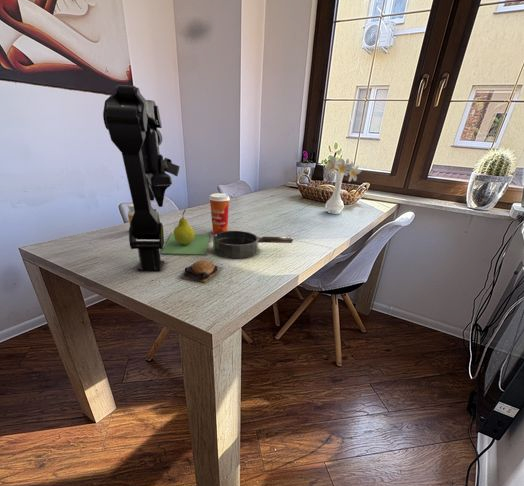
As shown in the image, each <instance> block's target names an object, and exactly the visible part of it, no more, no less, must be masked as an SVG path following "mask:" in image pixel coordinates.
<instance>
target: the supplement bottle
mask: <svg viewBox="0 0 524 486" xmlns="http://www.w3.org/2000/svg"><path fill="white" fill-rule="evenodd" d="M127 208H128V211H127V217H128V223H129V224H130V223H131V220H132V217H133V214H134V212H135V211H134V206H133V203H129V204H128V205H127Z"/></svg>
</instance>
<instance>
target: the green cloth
mask: <svg viewBox="0 0 524 486" xmlns="http://www.w3.org/2000/svg"><path fill="white" fill-rule="evenodd" d="M194 234H195V233H194ZM209 239H210V234H203V233H202V234H200V233H199V234H197V233H196V234H195V235H194V239H193V241H192V242H191V243H190V244H188V245H183V244H180V243H179V242H177V241H176V240H175V237H174V233H170V236H169V237H168V240H167V242H166V243H165V244H164V246H163V249H162V251H161V254H160V255H174V256H175V255H179V256H180V255H181V256H182V255H183V256H206V254H207V250H208V245H209Z"/></svg>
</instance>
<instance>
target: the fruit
mask: <svg viewBox="0 0 524 486" xmlns="http://www.w3.org/2000/svg"><path fill="white" fill-rule="evenodd" d="M186 211H187V210H186V209H184V210H183V212H182V215H184V214H185V212H186ZM173 234H174V237H175V240H176V241H177V242H179V243H180V244H183V245H188V244H190V243H191V242H192V241H193V239H194V235H195V231H194V228H193V227H192V226H190V225H189V223H188V220H187V219H186V217H181V218H179V221H178V224H177V226H175V227H174V229H173Z"/></svg>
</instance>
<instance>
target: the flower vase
mask: <svg viewBox="0 0 524 486" xmlns="http://www.w3.org/2000/svg"><path fill="white" fill-rule="evenodd" d="M326 165H327V166H325V168H324V170H325V171H327V172H326V175H328V174H330V173H331V172H334V171H335V170H336V171H335V183H334V188H333V192H332V195H331V196H330V198H329V199H327V201H326V202H325V204H324V206H325V209H326V210H327V213H328V214H332V215H338V214H340V212H341V211H342V210H343V209H344V208H345V204H344V201H343V200H342V197H341V189H342V183H343V179H344V176H346V177H347V176H348V175H349V177H348V183H350V182H352V180H353V181H354V182H356V181H357V180H358V175H359V174H360V173H362V169H359V165H356V166H355V164H354V162H353V160H351V162H350V159H349V158H346V160H345V159H344V158H342V157H341V158H339V159H338V160H337V157H336V156H332V157H331V158H330V159H329V162H328V163H327V164H326ZM354 166H355V167H354Z"/></svg>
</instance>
